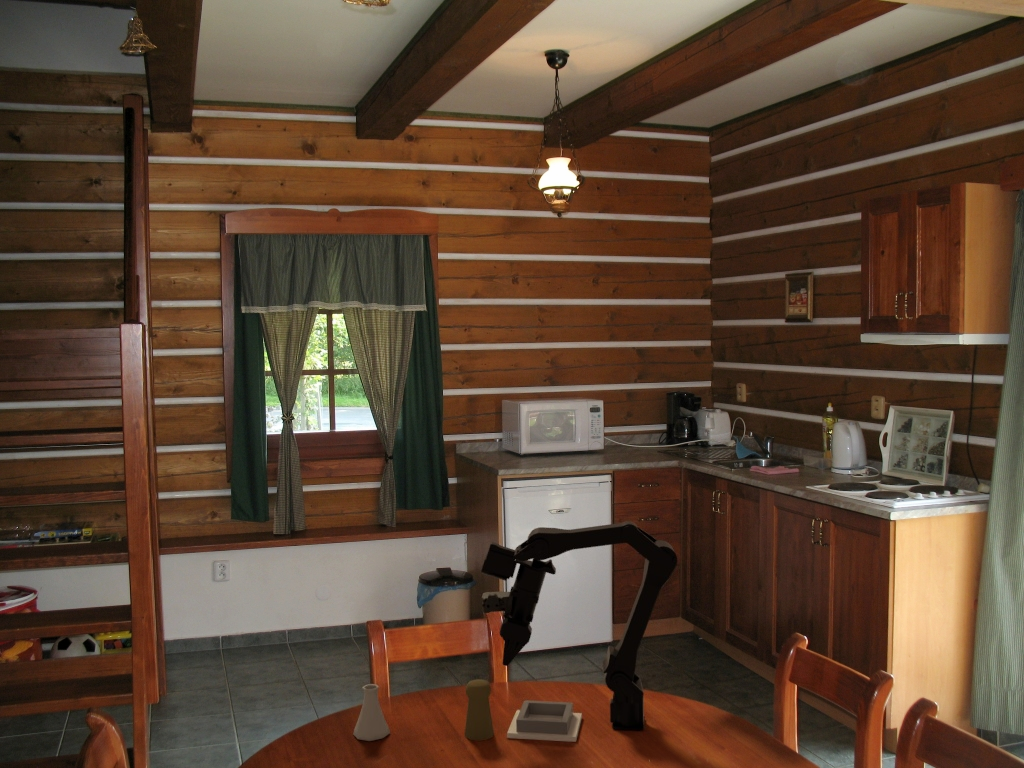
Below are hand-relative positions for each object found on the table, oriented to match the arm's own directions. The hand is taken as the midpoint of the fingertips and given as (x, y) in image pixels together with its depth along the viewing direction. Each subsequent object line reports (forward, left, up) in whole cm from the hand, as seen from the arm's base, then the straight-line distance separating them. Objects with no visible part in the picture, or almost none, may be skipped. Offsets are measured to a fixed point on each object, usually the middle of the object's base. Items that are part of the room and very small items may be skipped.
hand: (506, 657), depth 194 cm
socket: (-8, +1, -14) cm, 16 cm away
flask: (+27, +9, -14) cm, 32 cm away
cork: (+5, +6, -14) cm, 16 cm away
